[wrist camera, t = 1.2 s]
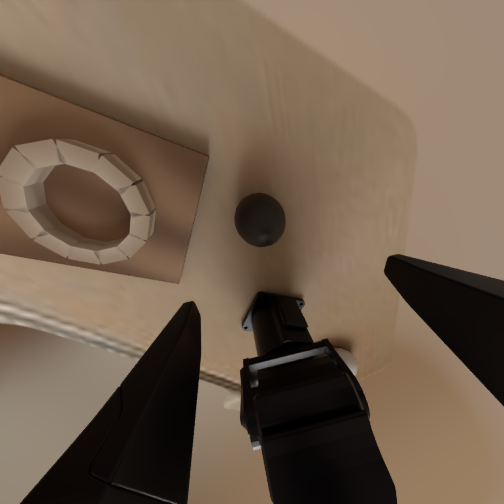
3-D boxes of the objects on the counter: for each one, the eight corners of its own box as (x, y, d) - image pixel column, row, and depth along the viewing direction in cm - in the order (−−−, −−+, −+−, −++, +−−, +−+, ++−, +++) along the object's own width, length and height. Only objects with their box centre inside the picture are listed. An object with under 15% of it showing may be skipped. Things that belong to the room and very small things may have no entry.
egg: (224, 219, 17) (226, 245, 12) (249, 179, 15) (261, 193, 11) (260, 239, 18) (272, 268, 14) (286, 205, 17) (308, 226, 13)
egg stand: (180, 277, 19) (175, 294, 17) (1, 245, 15) (-35, 262, 13) (209, 156, 14) (207, 158, 12) (-54, 53, 10) (-131, 28, 8)
